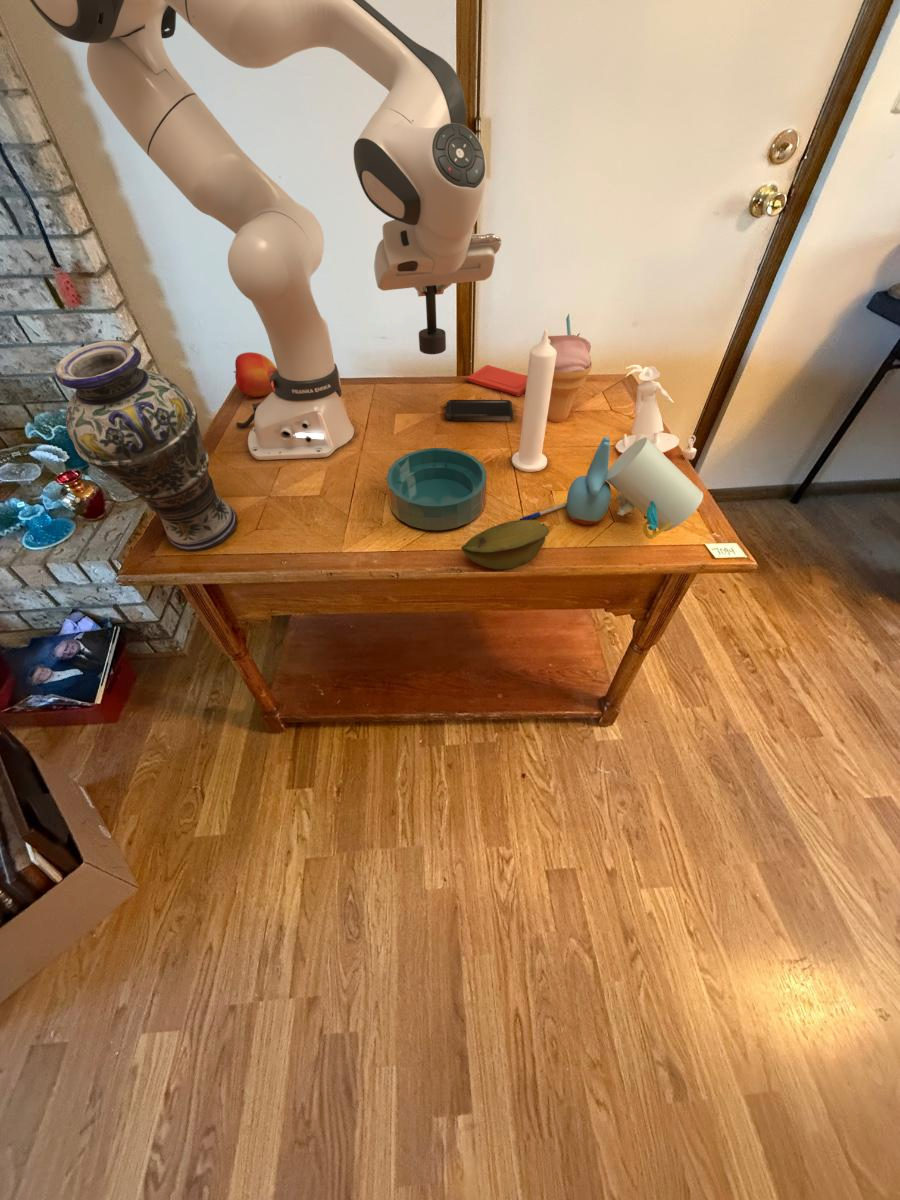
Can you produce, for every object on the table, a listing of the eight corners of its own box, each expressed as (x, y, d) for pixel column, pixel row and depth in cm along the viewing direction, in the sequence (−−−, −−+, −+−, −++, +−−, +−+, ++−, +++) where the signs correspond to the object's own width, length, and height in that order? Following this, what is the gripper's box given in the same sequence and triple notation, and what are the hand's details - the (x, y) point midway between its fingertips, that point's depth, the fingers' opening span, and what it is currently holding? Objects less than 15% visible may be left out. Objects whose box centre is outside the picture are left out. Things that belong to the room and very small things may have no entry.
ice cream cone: (524, 410, 114) (534, 315, 99) (567, 402, 116) (583, 309, 101) (545, 433, 107) (559, 335, 92) (589, 425, 109) (610, 328, 94)
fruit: (531, 588, 77) (535, 557, 72) (460, 569, 80) (458, 539, 75) (550, 541, 84) (554, 510, 79) (483, 526, 87) (483, 496, 82)
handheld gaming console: (537, 383, 123) (487, 368, 129) (537, 378, 122) (487, 364, 128) (518, 397, 118) (467, 381, 124) (518, 392, 117) (467, 377, 123)
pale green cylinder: (580, 515, 80) (638, 568, 82) (636, 472, 71) (699, 532, 73) (605, 457, 93) (654, 505, 95) (655, 414, 84) (708, 467, 86)
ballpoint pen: (518, 517, 87) (518, 522, 88) (520, 519, 86) (520, 524, 87) (567, 501, 90) (567, 506, 91) (570, 503, 89) (570, 508, 90)
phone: (447, 399, 115) (511, 399, 115) (447, 404, 116) (511, 404, 116) (446, 416, 110) (513, 416, 110) (446, 421, 111) (512, 421, 111)
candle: (517, 474, 97) (532, 340, 78) (507, 455, 102) (519, 324, 83) (551, 469, 98) (574, 336, 79) (540, 451, 103) (558, 320, 84)
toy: (629, 429, 80) (602, 505, 91) (585, 422, 81) (564, 498, 92) (630, 460, 73) (601, 539, 84) (582, 452, 74) (560, 531, 85)
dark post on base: (422, 355, 95) (416, 243, 82) (417, 345, 98) (410, 235, 85) (448, 352, 96) (446, 240, 82) (442, 342, 99) (439, 233, 86)
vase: (171, 580, 80) (38, 417, 55) (139, 520, 88) (10, 356, 64) (265, 532, 85) (181, 364, 61) (227, 480, 93) (139, 314, 69)
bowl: (399, 541, 84) (396, 513, 80) (383, 482, 96) (379, 455, 91) (497, 524, 87) (499, 496, 83) (470, 469, 99) (470, 442, 94)
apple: (282, 353, 114) (236, 346, 109) (284, 397, 117) (239, 392, 112) (272, 358, 122) (228, 351, 117) (274, 399, 125) (231, 395, 120)
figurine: (692, 447, 104) (701, 344, 93) (700, 472, 95) (710, 361, 84) (615, 455, 109) (614, 358, 98) (614, 478, 100) (614, 375, 89)
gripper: (500, 213, 78) (480, 268, 92) (372, 224, 75) (371, 279, 88) (507, 254, 78) (486, 303, 92) (380, 266, 75) (378, 315, 89)
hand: (429, 291), depth 90 cm, fingers closed on dark post on base
